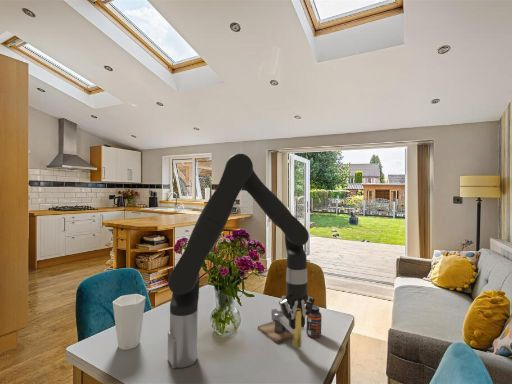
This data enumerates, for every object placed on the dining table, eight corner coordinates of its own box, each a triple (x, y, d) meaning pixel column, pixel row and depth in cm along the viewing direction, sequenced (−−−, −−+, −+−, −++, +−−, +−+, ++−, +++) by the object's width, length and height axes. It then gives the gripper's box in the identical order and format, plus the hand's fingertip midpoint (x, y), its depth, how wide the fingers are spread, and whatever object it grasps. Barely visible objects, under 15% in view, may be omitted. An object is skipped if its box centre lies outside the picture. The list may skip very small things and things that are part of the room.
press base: (257, 329, 116) (257, 312, 116) (276, 322, 121) (277, 306, 121) (276, 343, 105) (277, 325, 105) (297, 335, 111) (297, 318, 111)
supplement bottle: (310, 339, 108) (311, 311, 108) (303, 332, 114) (304, 305, 114) (324, 337, 110) (324, 309, 110) (316, 330, 115) (317, 303, 115)
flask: (292, 315, 129) (292, 294, 128) (293, 323, 121) (293, 300, 121) (277, 314, 129) (277, 293, 129) (276, 322, 122) (277, 299, 122)
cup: (150, 343, 104) (150, 298, 104) (124, 356, 96) (124, 308, 96) (133, 334, 110) (133, 292, 110) (107, 345, 102) (108, 300, 102)
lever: (268, 323, 115) (268, 292, 115) (278, 320, 117) (278, 290, 117) (293, 349, 96) (293, 312, 96) (304, 346, 98) (305, 310, 98)
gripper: (283, 285, 93) (283, 336, 93) (319, 280, 97) (319, 328, 98) (274, 278, 100) (275, 325, 100) (308, 274, 104) (309, 319, 105)
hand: (297, 326), depth 99 cm, fingers closed on lever, 3 cm apart
